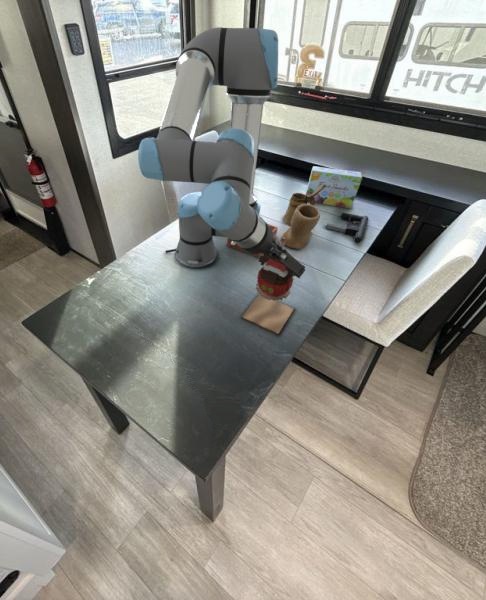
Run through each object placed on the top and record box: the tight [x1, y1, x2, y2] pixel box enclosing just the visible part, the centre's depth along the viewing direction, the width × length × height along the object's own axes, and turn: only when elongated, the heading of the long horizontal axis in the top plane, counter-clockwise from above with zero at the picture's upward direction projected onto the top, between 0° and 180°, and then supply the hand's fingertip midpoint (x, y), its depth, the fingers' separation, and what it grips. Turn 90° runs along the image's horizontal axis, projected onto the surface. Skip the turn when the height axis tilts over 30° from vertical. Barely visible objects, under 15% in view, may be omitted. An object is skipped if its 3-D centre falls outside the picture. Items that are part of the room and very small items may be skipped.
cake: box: [255, 237, 296, 302], centre depth 84 cm, size 11×9×18 cm
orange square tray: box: [226, 223, 279, 258], centre depth 122 cm, size 14×16×5 cm
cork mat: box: [241, 294, 295, 335], centre depth 96 cm, size 12×12×1 cm
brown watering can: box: [282, 184, 326, 226], centre depth 129 cm, size 9×14×18 cm, turn 63°
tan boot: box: [280, 203, 321, 250], centre depth 120 cm, size 15×12×15 cm
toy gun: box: [325, 212, 370, 244], centre depth 131 cm, size 3×20×16 cm
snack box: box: [305, 165, 363, 209], centre depth 143 cm, size 21×6×15 cm, turn 73°
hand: (285, 263), depth 85 cm, fingers closed on cake, 10 cm apart
